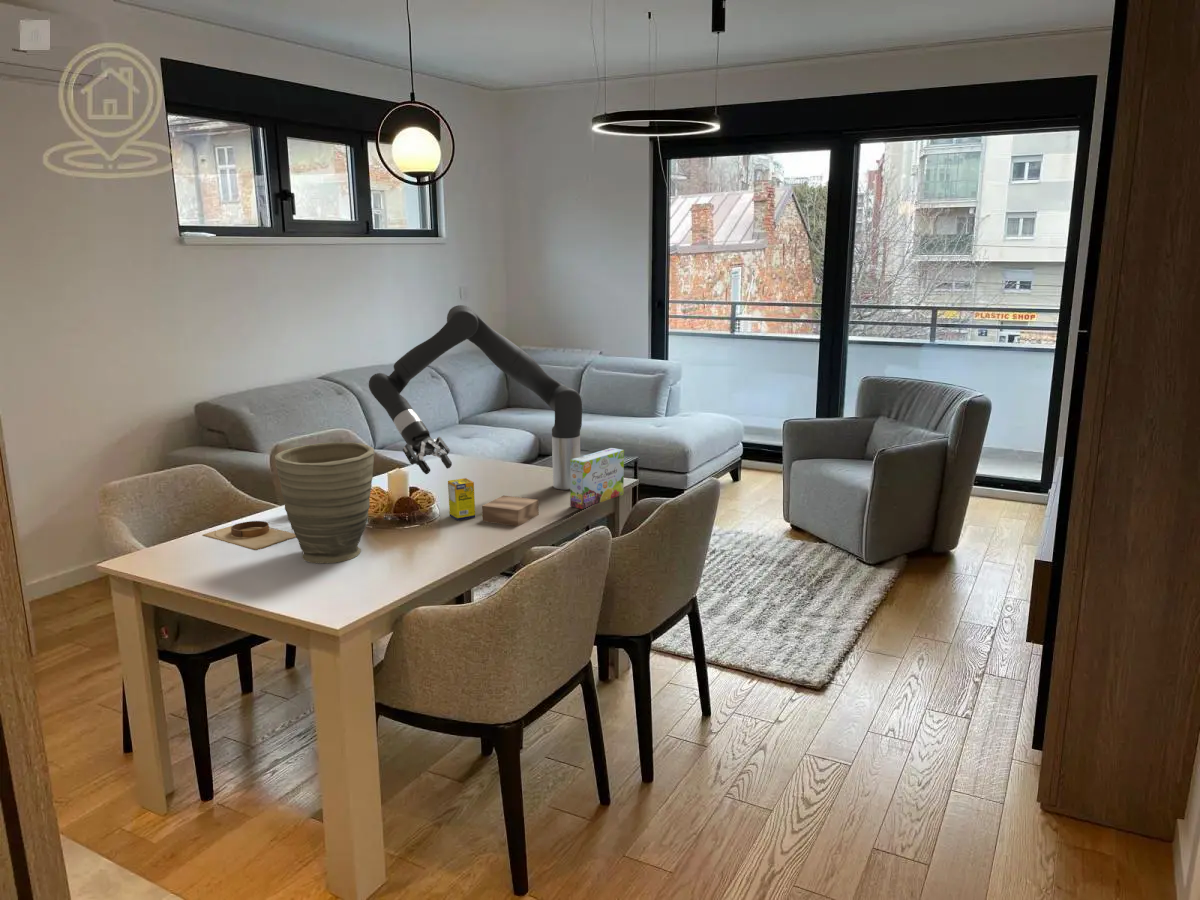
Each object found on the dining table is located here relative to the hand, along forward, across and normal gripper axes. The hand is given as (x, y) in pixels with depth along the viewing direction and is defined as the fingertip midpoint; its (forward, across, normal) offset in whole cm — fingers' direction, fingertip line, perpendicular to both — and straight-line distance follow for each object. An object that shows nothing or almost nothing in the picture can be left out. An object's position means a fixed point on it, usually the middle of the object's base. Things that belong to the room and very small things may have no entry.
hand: (439, 469), depth 262 cm
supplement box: (+16, 0, +3) cm, 16 cm away
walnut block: (+25, +8, -6) cm, 27 cm away
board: (-9, -47, +29) cm, 55 cm away
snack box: (+32, +37, -12) cm, 50 cm away
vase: (+13, -43, +6) cm, 45 cm away
